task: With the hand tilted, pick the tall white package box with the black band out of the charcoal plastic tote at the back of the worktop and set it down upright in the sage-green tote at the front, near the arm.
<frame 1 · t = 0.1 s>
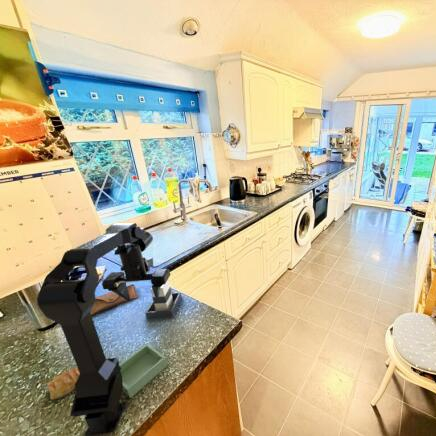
hand: (143, 298, 81), 15 cm above the worktop, tool pointing down, fingers open, 9 cm apart
sunglasses case: (113, 303, 99), on the worktop
package: (165, 307, 96), resting on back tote
front tote: (140, 372, 71), on the worktop
pastry: (69, 385, 68), on the worktop
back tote: (165, 308, 96), on the worktop
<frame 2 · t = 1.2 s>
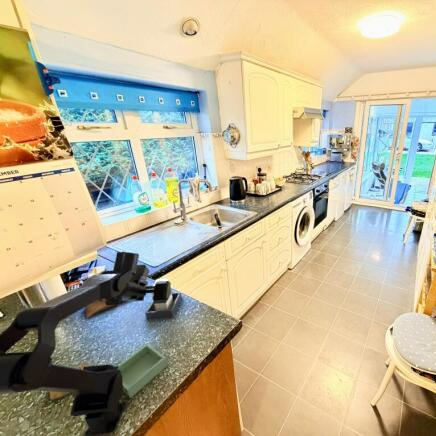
hand: (150, 294, 84), 13 cm above the worktop, tool tilted 45°, fingers open, 9 cm apart
nothing on the worktop moved.
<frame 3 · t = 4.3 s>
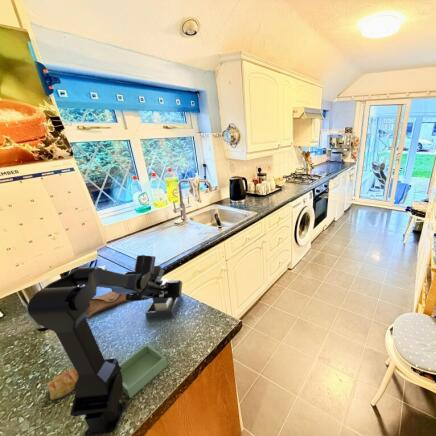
hand: (163, 292, 95), 7 cm above the worktop, tool tilted 45°, fingers closed on package, 4 cm apart
package: (165, 307, 96), point 1 cm above the worktop, touching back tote, gripper
everything else where it was.
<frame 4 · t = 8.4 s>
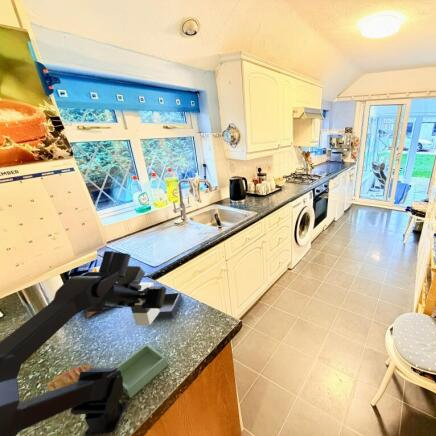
hand: (146, 299, 77), 17 cm above the worktop, tool tilted 45°, fingers closed on package, 4 cm apart
package: (148, 318, 78), point 11 cm above the worktop, touching gripper
everything else where it was.
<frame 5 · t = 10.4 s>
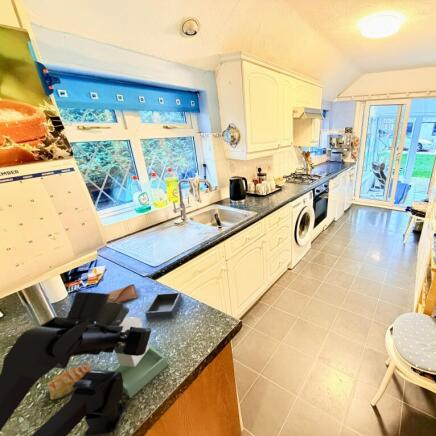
hand: (133, 336, 68), 13 cm above the worktop, tool tilted 45°, fingers closed on package, 4 cm apart
package: (135, 356, 69), point 7 cm above the worktop, touching gripper
everything else where it was.
when the fingers open (7 cm above the worktop, at t = 12.5 s): package stays where it is, resting on front tote.
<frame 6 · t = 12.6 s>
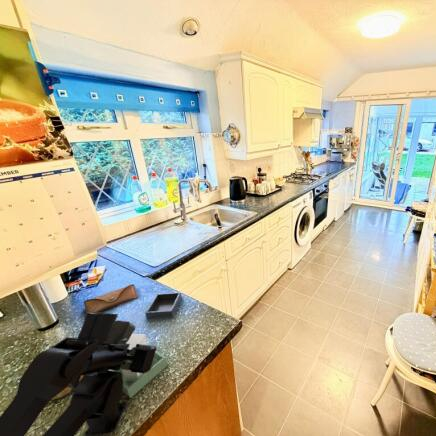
hand: (138, 352, 70), 7 cm above the worktop, tool tilted 45°, fingers open, 5 cm apart
package: (139, 372, 71), point 1 cm above the worktop, touching front tote
everything else where it was.
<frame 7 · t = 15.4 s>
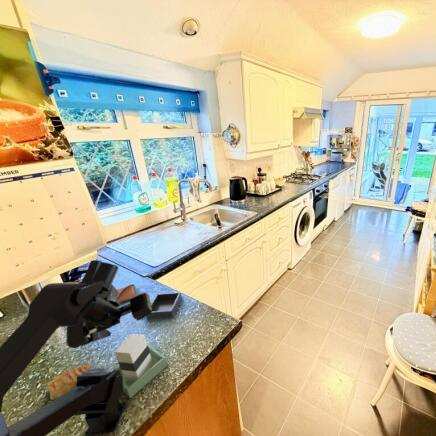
hand: (127, 325, 69), 16 cm above the worktop, tool tilted 30°, fingers open, 9 cm apart
nothing on the worktop moved.
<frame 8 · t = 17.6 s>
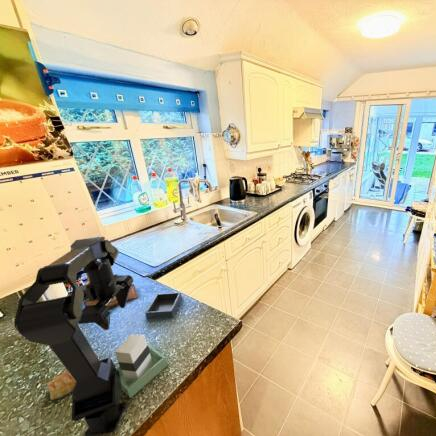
hand: (115, 318, 75), 13 cm above the worktop, tool pointing down, fingers open, 9 cm apart
nothing on the worktop moved.
at the end: package inside the target area in the front tote (0.2 cm from its centre), point 0.5 cm above the front tote's base; package tilted 0°; the gripper is holding nothing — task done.
